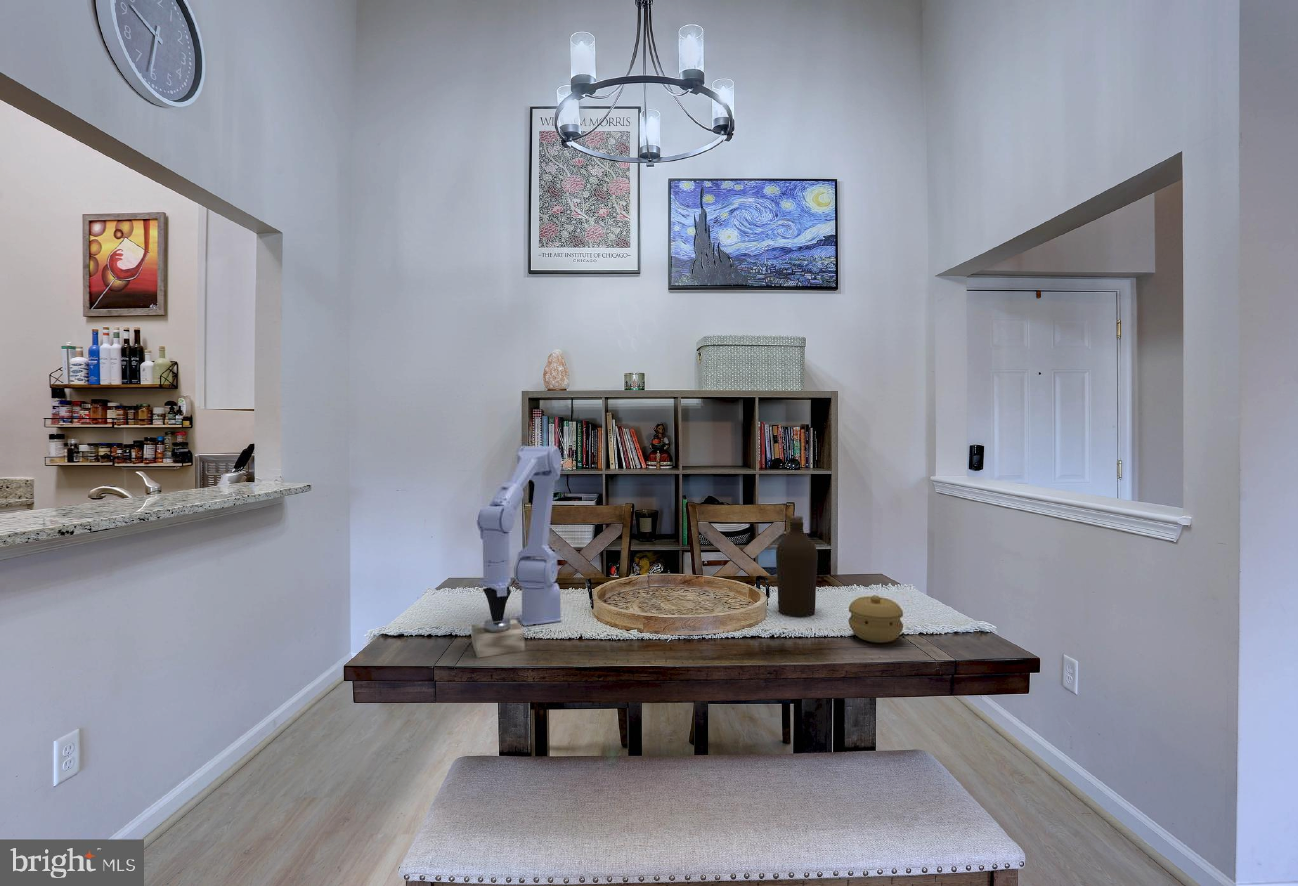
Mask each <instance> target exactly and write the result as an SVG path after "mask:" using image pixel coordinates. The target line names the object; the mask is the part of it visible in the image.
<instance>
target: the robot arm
mask: <svg viewBox="0 0 1298 886" xmlns="http://www.w3.org/2000/svg"><path fill="white" fill-rule="evenodd" d="M562 461H563V459H562V454H561V452H560V449H559V447H558V446H556V445H552V446H549V445H548V446H547V445H545V446H544V445H542V446H540V445H539V446H536V445H535V446H533V445H532V446H529V445H528V446H527V445H522V446H521V447H520V448H519V450H518V451H517V454H516V463H517V465H516V467H515V470H514V471H513V473H512V475H511V477H510V480H509V481H508V482H504V483H502V485H500V488H499V489H498V491H497V492H496V494H495V495H494V497H493V499H492V500H491V502H489V505H486V506H484V507H483V508H481V509H480V510H479V512H478V514H477V519H476V525H477V528H478V531H479V537H480V539H481V540H482V561H483V562H482V563H483V565H482V567H483V573H482V574H483V579H478V580H477V585H479V586H485V588H483V589H482V591H483V593H484V595H485V597H486V600H487V603H488V608H489V613H490V617H491V619H492V620H493V622H496V621H502V620H503V618H504V615H505V611H506V607H507V605H506V604H507V602H508V599H509V597H510V596H511V593H512V589H510V586H509V585H510V584H511V582H512V579H511V574H510V573H511V569H510V568H511V567H510V564H511V559H510V558H511V557H510V556H511V555H510V531H511V530H512V529H513V528H514V524H515V518H516V516H517V515H516V514H517V513H516V511H517V509H518V507H519V506H520V504H521V503H522V500H523V498H524V495H525V494H524V488H525V487H526V485H527V484H528V483H529V481H532V482H533V484H534V490H533V498H532V506H531V513H530V522H529V533H528V539H527V540H528V541H527V544H526V546H525V547H524V548H522V549H520V551H518V553H517V558H516V561H515V564H514V567H513V577H514V580H515V581H516V582H517V583H518V586H519V587H521V614H518V615H517V618H518V620H519V621H520V623H521V624H522V625H523V626H524V627H527V625H528V626H534V625H533V624H536V625H541V624H543V625H544V624H549V623H557V622H561V621H562V617H561V615H562V614H561V612H562V611H561V610H562V609H561V590H560V586H559V584H558V583H557V582H555V581H556V580H557V577H558V573H559V571H558V555H557V553H555V552H554V551H553V550H552V549H551V548H550V547H549V538H550V528H551V518H552V511H553V500H554V499H553V498H554V491H555V484H556V483H555V482H557V481H558V480H559V479H560V477H561V468H562ZM543 558H544V559H543Z"/></svg>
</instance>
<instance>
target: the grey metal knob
mask: <svg viewBox="0 0 1298 886" xmlns="http://www.w3.org/2000/svg"><path fill="white" fill-rule="evenodd" d="M510 620H511V619H508V618H504V617H503V620H502V621H496V622H493V620H492V618H491V619H487V620H486V621H484V622H483V624H484V631H486V632H488V633H500V632H505V631H507V630H509V629H510Z"/></svg>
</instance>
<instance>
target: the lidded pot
mask: <svg viewBox="0 0 1298 886" xmlns="http://www.w3.org/2000/svg"><path fill="white" fill-rule="evenodd" d="M848 612H849V613H850V616H849V618H848V619H847V620H848V625H849V627H850V629H851V631H852V632H853V633H854V634H855V636H856V637H858V638H859V639H862V640H864V641H867V642H871V643H879V644H884V643H890V642H893V641H894V640H896V639H897V638H898V637H899V636H900V635H901V634H902V632H903V628H904V623H903V622H902V620H901V619H902V618H903V616H904V611H903V609H902V607H901V606H900V605H899V604H898V603H897V602H896V601H895V600H892V599H889V598H887V597H880V595H876V594H874V595H872V596H871V595H870V596H867V595H866V596H860V597H858V598H856V599H854V600H853V601H852V602H851V603H850V604H849V606H848Z"/></svg>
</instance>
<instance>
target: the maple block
mask: <svg viewBox="0 0 1298 886" xmlns="http://www.w3.org/2000/svg"><path fill="white" fill-rule="evenodd" d="M509 620H510V629H509V630H507V631H505V632H500V633H488V632H486V631H484V623H476V624H471V644H472V646H473V650H474V652H475V655H476V658H484V657H492V656H499V655H505V654H511V653H517V652H518V653H519V652H525V646H526V645H525V631H524V630H523V628H522V626H521V625H520V624H519V622H518V620H517V619H516V618H515V619H509Z"/></svg>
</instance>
